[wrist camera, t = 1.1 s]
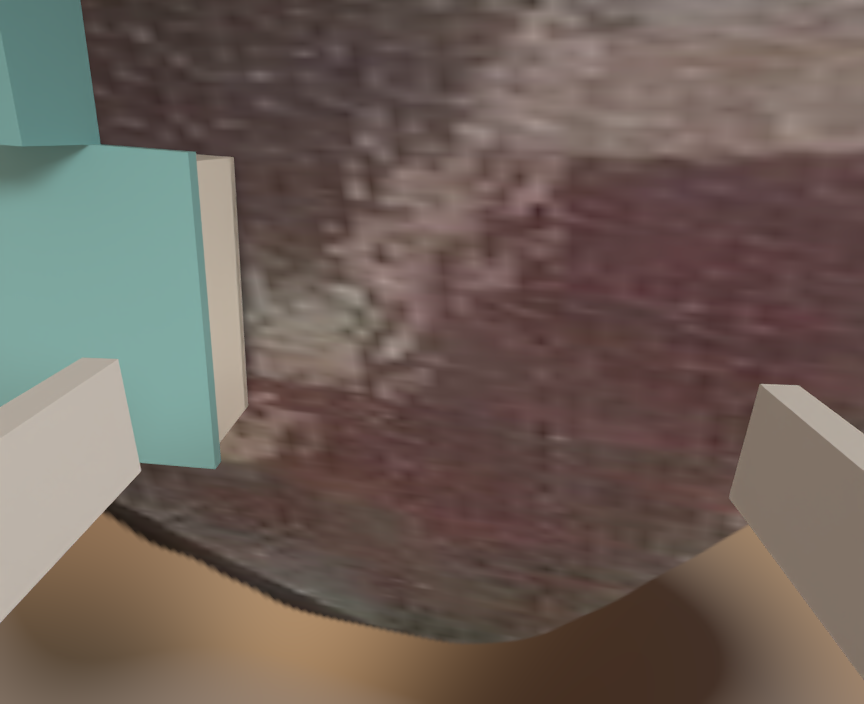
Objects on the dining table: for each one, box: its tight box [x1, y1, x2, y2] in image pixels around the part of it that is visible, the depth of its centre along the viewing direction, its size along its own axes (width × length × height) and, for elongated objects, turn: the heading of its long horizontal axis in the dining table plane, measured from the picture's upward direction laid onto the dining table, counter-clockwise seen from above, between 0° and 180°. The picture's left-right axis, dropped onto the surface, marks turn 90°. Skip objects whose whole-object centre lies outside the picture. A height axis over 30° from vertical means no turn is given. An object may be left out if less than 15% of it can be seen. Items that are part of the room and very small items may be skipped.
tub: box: [196, 154, 248, 443], centre depth 32 cm, size 16×12×6 cm
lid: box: [0, 0, 221, 469], centre depth 25 cm, size 24×13×5 cm, turn 176°
